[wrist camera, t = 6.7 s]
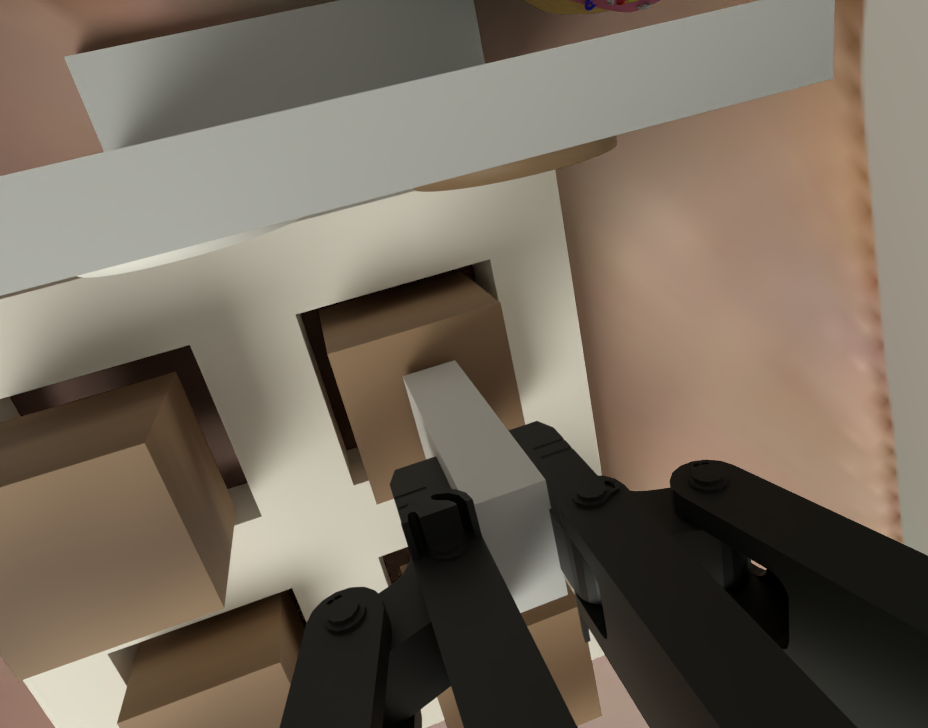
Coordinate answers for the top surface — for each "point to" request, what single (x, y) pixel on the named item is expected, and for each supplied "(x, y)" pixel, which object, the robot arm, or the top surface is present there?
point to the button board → (303, 379)
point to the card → (361, 119)
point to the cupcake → (590, 5)
